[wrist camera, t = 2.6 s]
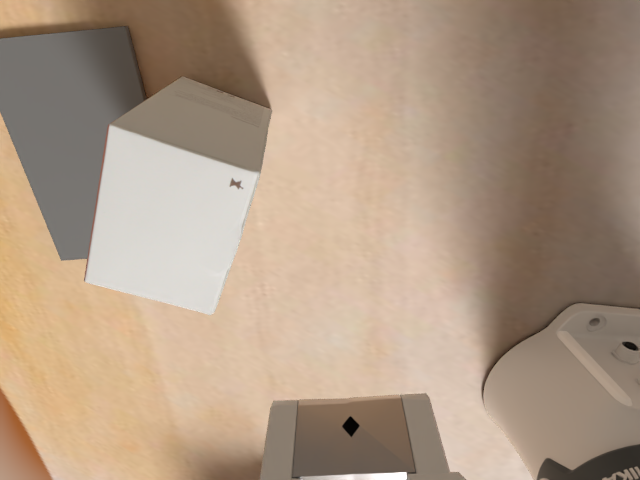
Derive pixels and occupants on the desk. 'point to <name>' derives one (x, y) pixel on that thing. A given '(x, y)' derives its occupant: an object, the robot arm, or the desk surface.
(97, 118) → the mat
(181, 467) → the desk surface
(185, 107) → the small box
